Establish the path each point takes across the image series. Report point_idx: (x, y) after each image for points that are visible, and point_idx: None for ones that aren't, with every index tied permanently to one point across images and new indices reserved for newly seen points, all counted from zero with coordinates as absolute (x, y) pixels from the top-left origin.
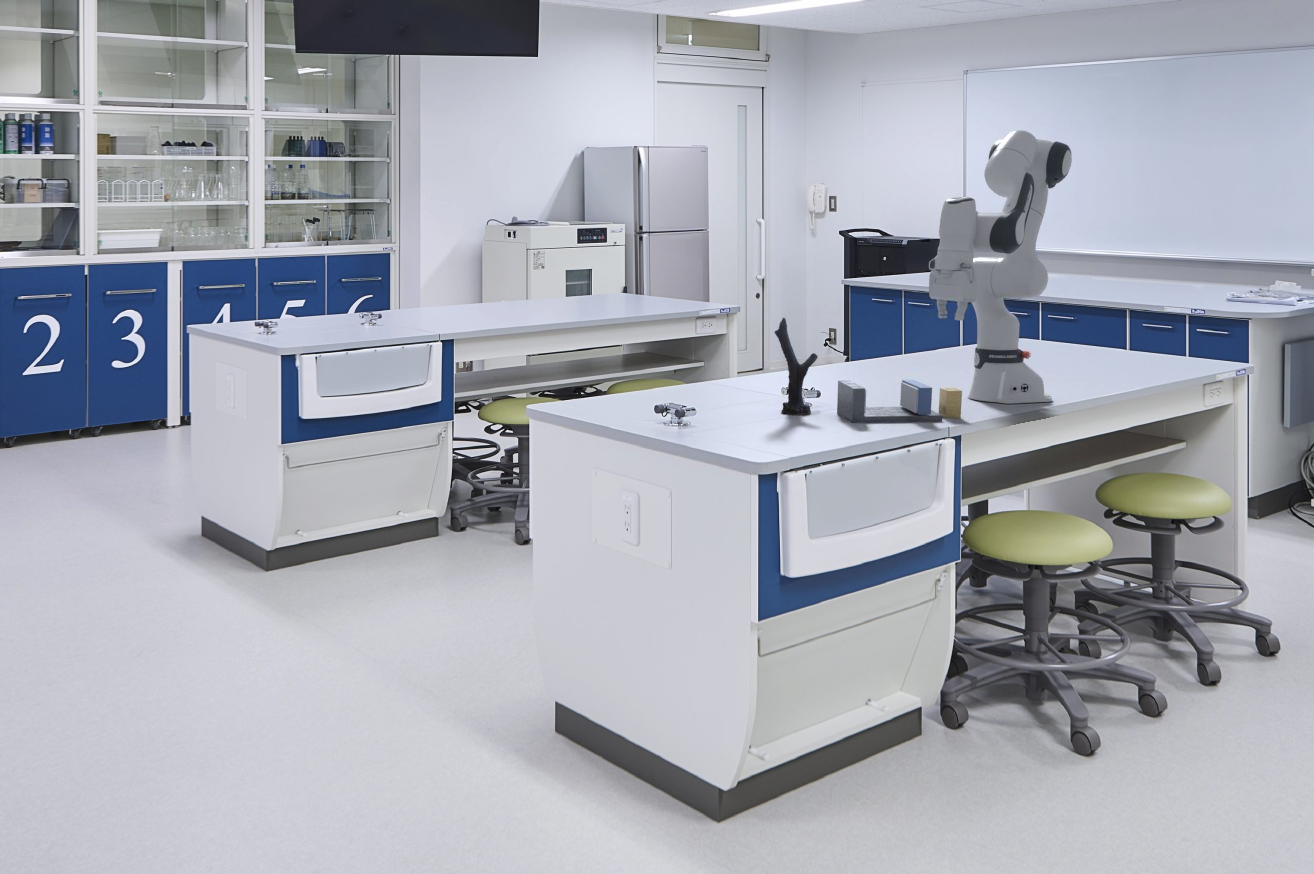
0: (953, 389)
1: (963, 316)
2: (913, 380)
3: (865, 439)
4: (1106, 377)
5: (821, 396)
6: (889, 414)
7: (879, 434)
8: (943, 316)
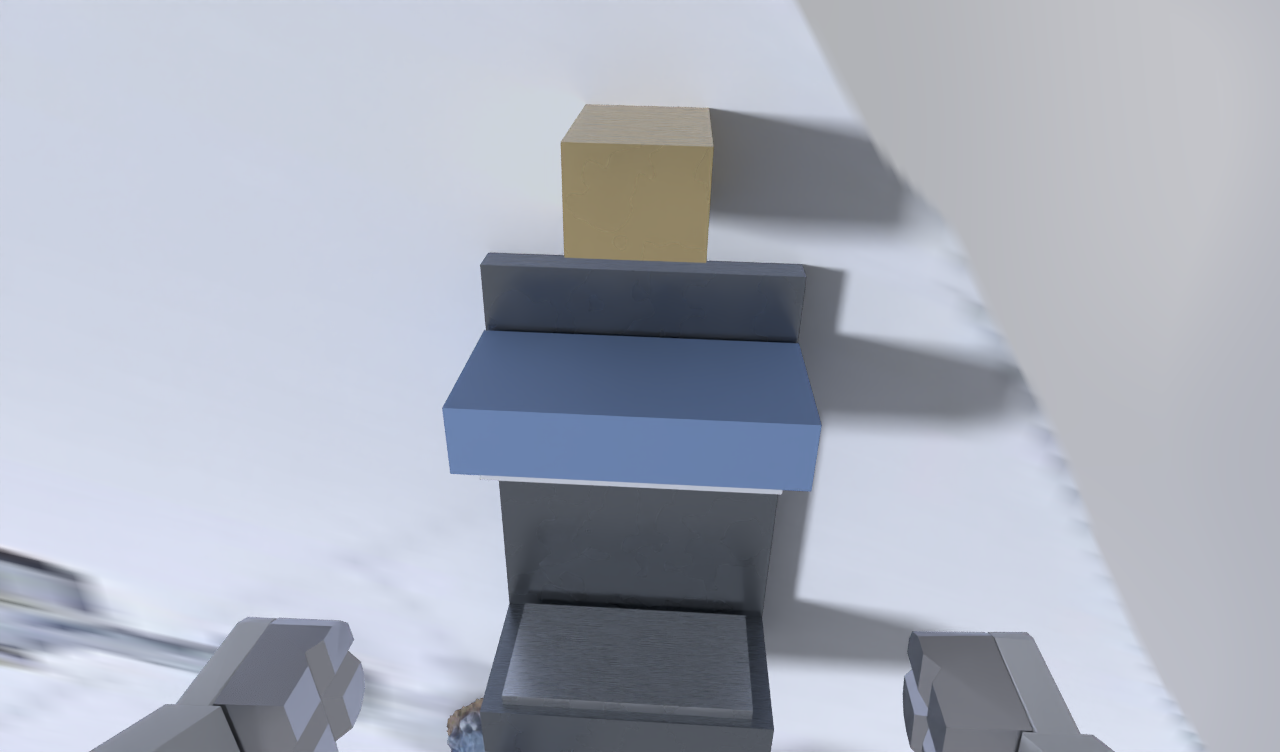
0: (640, 186)
1: (1055, 687)
2: (477, 420)
3: (1115, 691)
4: None
5: (33, 553)
6: (726, 511)
7: (1038, 624)
8: (339, 676)
